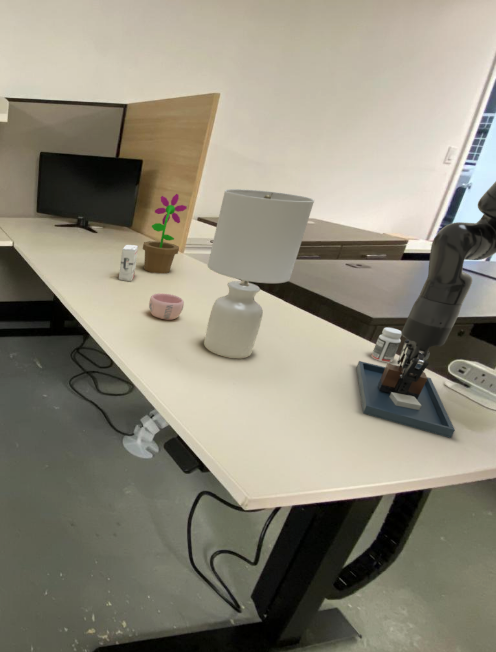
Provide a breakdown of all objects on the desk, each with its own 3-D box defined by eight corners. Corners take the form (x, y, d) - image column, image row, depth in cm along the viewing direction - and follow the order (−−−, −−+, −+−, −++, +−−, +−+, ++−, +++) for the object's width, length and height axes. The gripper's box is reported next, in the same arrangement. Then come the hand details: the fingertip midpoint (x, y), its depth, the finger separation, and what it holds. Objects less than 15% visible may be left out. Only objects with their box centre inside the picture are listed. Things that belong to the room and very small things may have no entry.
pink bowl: (184, 323, 137) (188, 305, 135) (151, 321, 137) (154, 302, 135) (173, 309, 148) (177, 291, 146) (142, 307, 148) (145, 289, 146)
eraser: (414, 393, 105) (425, 372, 103) (416, 400, 102) (427, 378, 100) (377, 384, 108) (387, 363, 106) (379, 390, 105) (388, 369, 103)
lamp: (229, 332, 133) (267, 190, 117) (282, 362, 118) (334, 202, 101) (175, 338, 127) (207, 188, 111) (222, 370, 111) (268, 200, 95)
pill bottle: (393, 359, 124) (406, 331, 120) (390, 365, 121) (403, 335, 117) (372, 353, 127) (384, 325, 123) (369, 358, 123) (381, 329, 120)
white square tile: (412, 401, 102) (414, 396, 102) (419, 410, 99) (421, 405, 98) (389, 396, 103) (391, 391, 103) (395, 405, 100) (397, 400, 100)
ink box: (121, 274, 182) (126, 243, 177) (134, 276, 180) (139, 245, 175) (117, 279, 174) (122, 248, 169) (130, 281, 173) (136, 250, 168)
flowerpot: (178, 270, 193) (194, 195, 181) (168, 277, 182) (184, 198, 169) (145, 263, 200) (158, 190, 187) (133, 270, 188) (146, 193, 176)
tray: (355, 368, 117) (358, 360, 116) (427, 385, 111) (430, 378, 110) (362, 414, 97) (366, 405, 96) (450, 439, 91) (455, 430, 90)
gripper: (461, 334, 90) (423, 409, 98) (446, 314, 102) (413, 382, 109) (414, 325, 94) (381, 397, 101) (405, 306, 105) (376, 372, 112)
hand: (398, 389), depth 105 cm, fingers closed on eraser, 3 cm apart
